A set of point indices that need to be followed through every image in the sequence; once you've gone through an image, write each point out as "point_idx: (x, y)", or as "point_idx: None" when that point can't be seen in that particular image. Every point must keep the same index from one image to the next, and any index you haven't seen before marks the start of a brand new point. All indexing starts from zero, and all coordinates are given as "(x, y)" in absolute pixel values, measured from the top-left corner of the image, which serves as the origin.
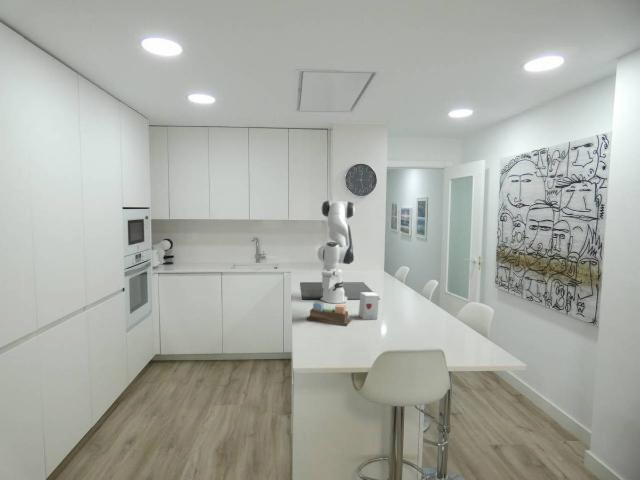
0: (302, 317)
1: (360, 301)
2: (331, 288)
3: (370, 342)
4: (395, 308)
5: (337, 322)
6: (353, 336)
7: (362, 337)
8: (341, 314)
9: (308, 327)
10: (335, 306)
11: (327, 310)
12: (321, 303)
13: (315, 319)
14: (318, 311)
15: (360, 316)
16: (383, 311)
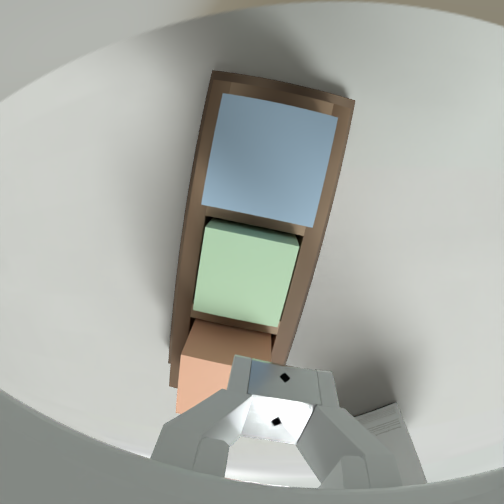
0: (290, 38)
1: (405, 473)
2: (323, 468)
3: (32, 399)
4: (473, 470)
5: (173, 311)
6: (47, 361)
7: (56, 390)
8: (171, 365)
9: (71, 128)
10: (186, 356)
11: (201, 261)
12: (274, 197)
13: (197, 144)
14: (197, 167)
15: (369, 413)
16: (449, 457)
